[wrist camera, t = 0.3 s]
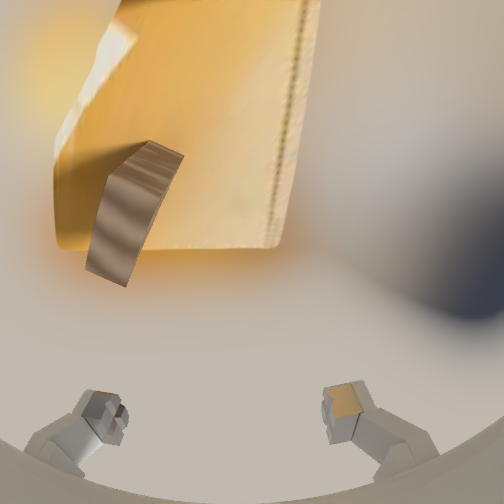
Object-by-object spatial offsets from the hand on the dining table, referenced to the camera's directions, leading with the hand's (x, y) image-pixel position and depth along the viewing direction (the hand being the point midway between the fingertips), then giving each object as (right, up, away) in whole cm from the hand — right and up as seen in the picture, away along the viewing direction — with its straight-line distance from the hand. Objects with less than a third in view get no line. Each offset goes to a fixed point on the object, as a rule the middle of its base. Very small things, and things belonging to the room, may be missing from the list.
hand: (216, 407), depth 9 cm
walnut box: (-21, +21, +47) cm, 55 cm away
